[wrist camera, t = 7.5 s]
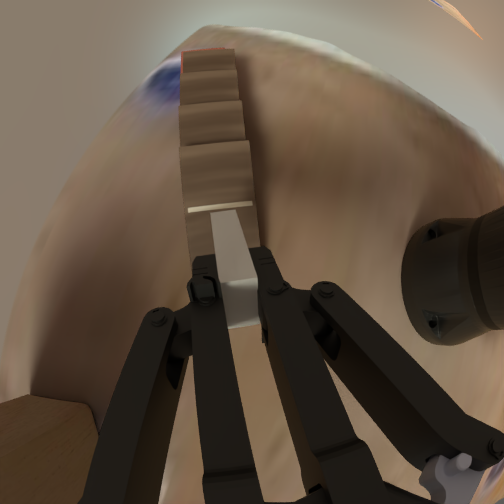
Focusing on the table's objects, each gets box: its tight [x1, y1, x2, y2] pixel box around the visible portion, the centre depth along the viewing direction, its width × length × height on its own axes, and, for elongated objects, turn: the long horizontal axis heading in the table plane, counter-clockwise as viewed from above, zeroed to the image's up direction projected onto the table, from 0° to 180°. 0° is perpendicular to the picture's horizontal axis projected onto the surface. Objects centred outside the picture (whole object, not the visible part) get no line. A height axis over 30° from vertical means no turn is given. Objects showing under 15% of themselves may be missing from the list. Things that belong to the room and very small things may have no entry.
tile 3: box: [180, 70, 239, 106], centre depth 25 cm, size 2×6×11 cm
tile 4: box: [183, 49, 236, 73], centre depth 26 cm, size 2×6×11 cm
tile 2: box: [179, 100, 246, 147], centre depth 24 cm, size 2×6×11 cm
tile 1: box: [179, 140, 260, 268], centre depth 23 cm, size 2×6×11 cm
